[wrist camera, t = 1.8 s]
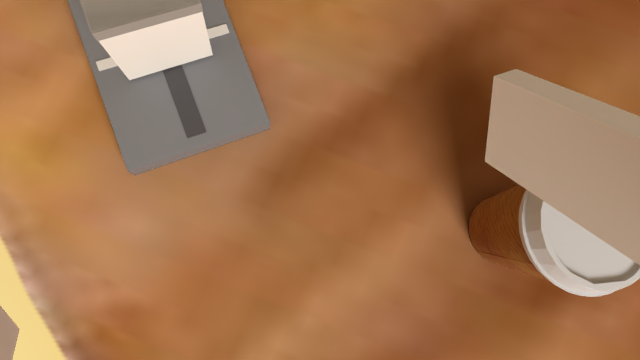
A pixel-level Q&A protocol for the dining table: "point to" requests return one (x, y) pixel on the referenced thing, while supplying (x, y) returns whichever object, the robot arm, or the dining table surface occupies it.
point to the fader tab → (148, 33)
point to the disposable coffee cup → (547, 245)
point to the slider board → (178, 97)
